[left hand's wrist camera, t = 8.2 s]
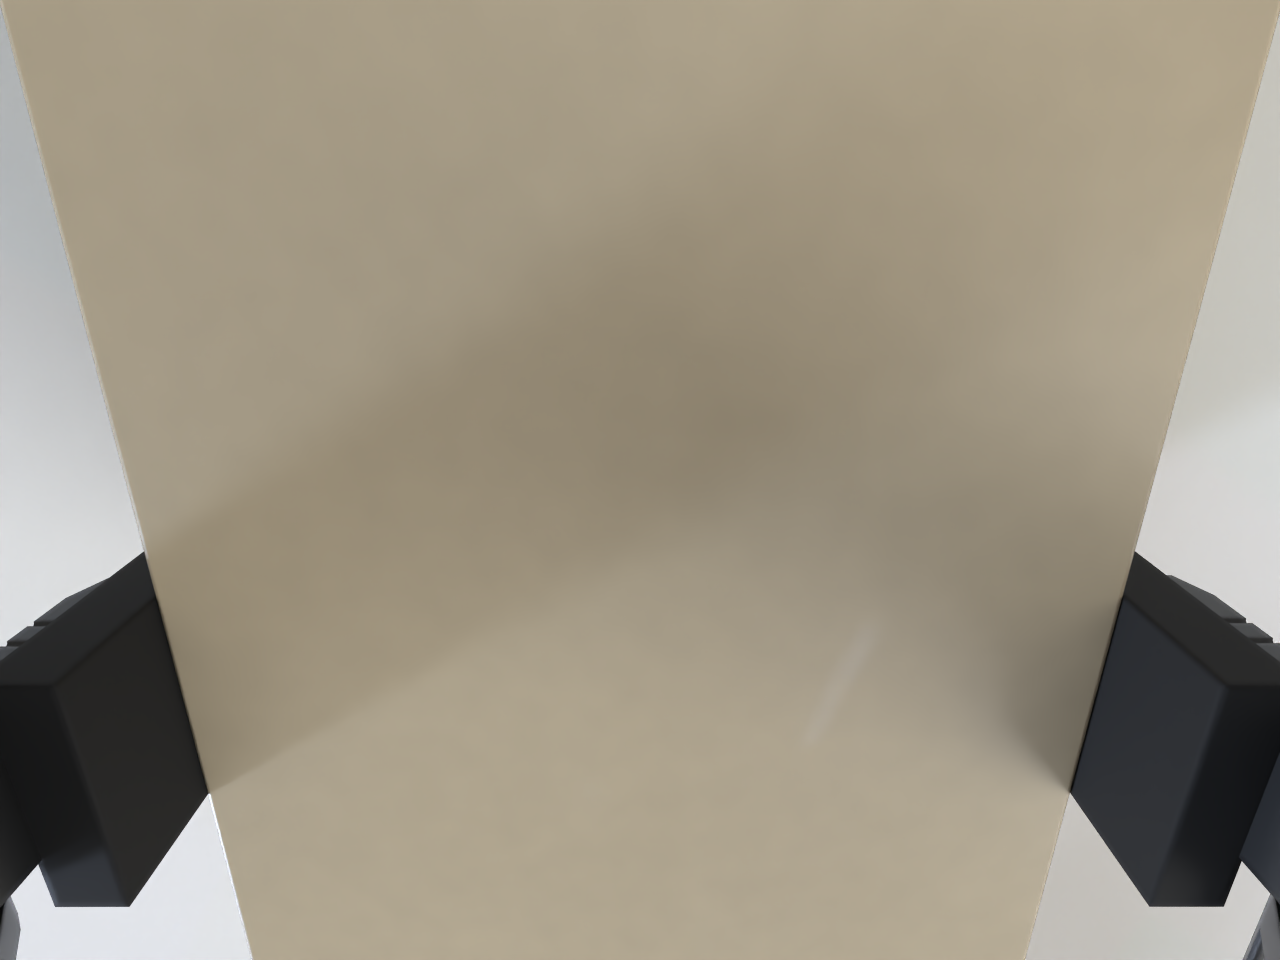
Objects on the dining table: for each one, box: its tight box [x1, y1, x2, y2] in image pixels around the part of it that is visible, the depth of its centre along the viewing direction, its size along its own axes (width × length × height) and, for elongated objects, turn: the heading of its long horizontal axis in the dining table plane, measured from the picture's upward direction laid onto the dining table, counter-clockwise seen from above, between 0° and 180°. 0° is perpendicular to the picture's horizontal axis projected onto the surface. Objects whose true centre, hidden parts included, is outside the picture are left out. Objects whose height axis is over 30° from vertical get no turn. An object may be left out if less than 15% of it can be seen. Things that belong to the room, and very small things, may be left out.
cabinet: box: [0, 0, 1280, 960], centre depth 11 cm, size 18×10×9 cm, turn 0°
